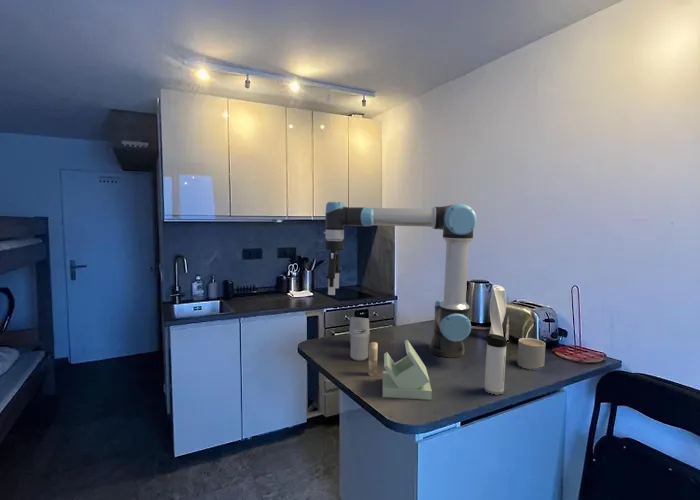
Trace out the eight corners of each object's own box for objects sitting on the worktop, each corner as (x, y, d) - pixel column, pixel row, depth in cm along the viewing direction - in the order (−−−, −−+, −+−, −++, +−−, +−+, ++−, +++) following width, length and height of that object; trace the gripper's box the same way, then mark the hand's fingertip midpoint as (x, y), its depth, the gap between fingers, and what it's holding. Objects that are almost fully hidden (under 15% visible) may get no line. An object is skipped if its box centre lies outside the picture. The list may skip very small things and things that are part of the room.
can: (366, 362, 161) (367, 333, 160) (348, 360, 162) (349, 332, 161) (369, 355, 168) (370, 328, 167) (352, 354, 170) (352, 326, 169)
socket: (426, 381, 143) (428, 339, 142) (431, 399, 130) (433, 353, 128) (382, 379, 145) (383, 337, 143) (382, 397, 131) (383, 351, 129)
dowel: (376, 372, 150) (377, 342, 149) (376, 376, 147) (377, 345, 146) (368, 372, 151) (369, 341, 150) (368, 375, 148) (369, 344, 146)
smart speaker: (371, 343, 185) (371, 313, 183) (367, 349, 176) (367, 318, 174) (351, 341, 187) (352, 312, 186) (346, 347, 178) (347, 317, 177)
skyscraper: (497, 345, 186) (500, 286, 184) (483, 340, 193) (487, 283, 191) (509, 342, 190) (512, 285, 188) (495, 337, 198) (499, 282, 195)
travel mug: (480, 387, 140) (483, 332, 138) (498, 387, 140) (501, 332, 138) (488, 395, 133) (491, 337, 131) (506, 395, 134) (510, 337, 132)
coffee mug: (535, 372, 154) (536, 347, 153) (512, 364, 162) (513, 340, 161) (553, 365, 161) (555, 341, 160) (530, 358, 170) (532, 335, 169)
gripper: (329, 237, 174) (328, 285, 176) (320, 242, 149) (319, 297, 151) (346, 238, 173) (345, 286, 175) (340, 242, 149) (339, 298, 151)
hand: (333, 291), depth 163 cm, fingers open, 13 cm apart
